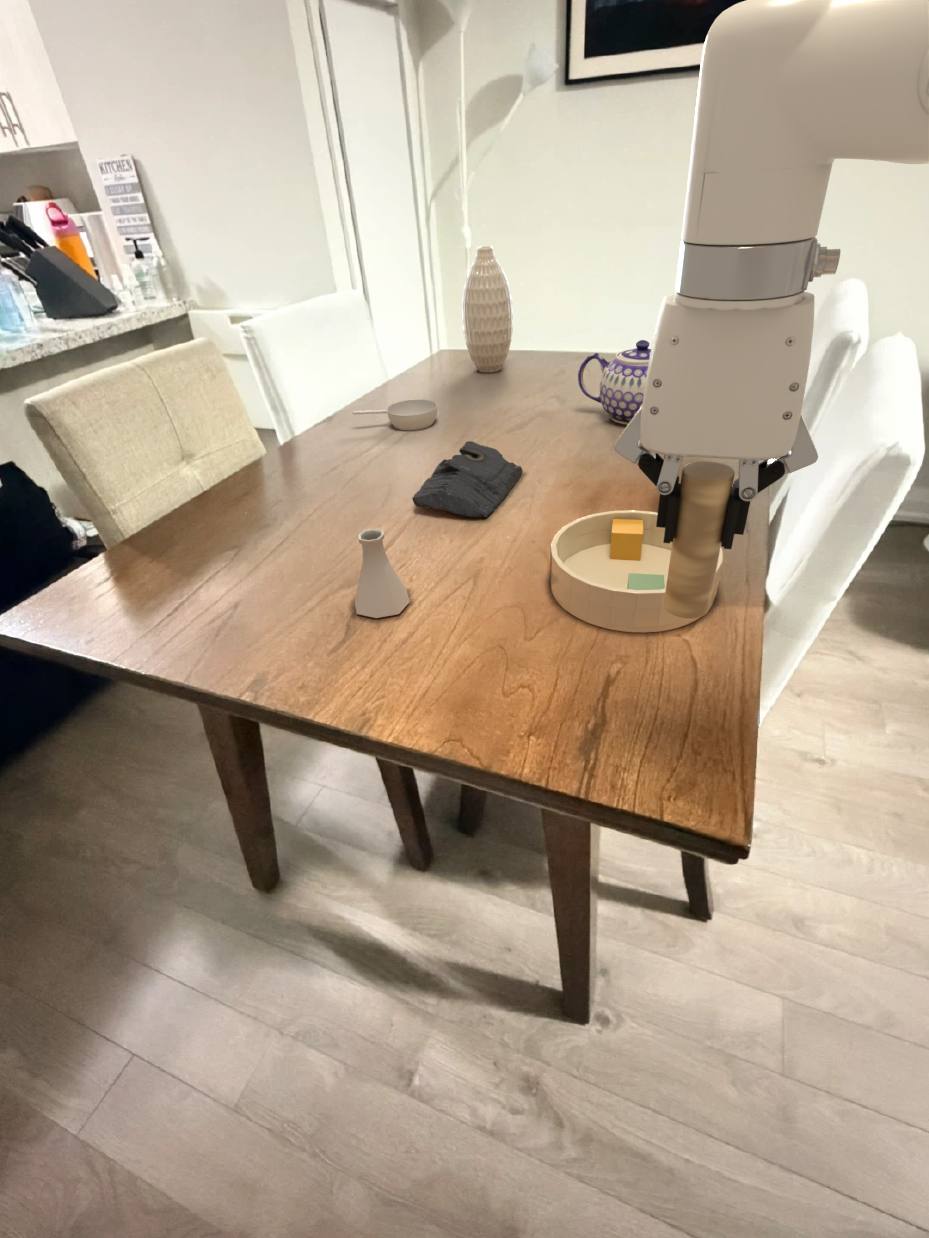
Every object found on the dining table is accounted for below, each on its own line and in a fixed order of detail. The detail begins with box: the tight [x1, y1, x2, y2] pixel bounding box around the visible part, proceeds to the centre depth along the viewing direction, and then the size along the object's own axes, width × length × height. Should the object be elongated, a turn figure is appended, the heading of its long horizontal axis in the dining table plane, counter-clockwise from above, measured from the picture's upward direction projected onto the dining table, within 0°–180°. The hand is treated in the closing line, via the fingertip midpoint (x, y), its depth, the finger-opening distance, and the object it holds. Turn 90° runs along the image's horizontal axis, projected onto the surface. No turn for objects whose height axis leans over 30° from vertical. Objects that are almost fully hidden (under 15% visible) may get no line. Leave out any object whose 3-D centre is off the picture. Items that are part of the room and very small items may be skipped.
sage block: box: [627, 573, 665, 590], centre depth 75 cm, size 4×4×4 cm
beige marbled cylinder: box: [664, 460, 736, 618], centre depth 50 cm, size 4×4×12 cm
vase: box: [461, 245, 514, 374], centre depth 161 cm, size 13×13×28 cm
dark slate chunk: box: [412, 440, 524, 518], centre depth 108 cm, size 15×22×5 cm
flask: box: [354, 528, 411, 619], centre depth 80 cm, size 7×7×10 cm
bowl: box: [549, 509, 724, 634], centre depth 81 cm, size 20×20×6 cm
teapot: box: [577, 339, 651, 426], centre depth 128 cm, size 25×15×15 cm, turn 61°
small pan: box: [351, 398, 438, 431], centre depth 137 cm, size 11×18×4 cm, turn 97°
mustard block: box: [610, 519, 643, 561], centre depth 86 cm, size 4×4×4 cm
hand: (697, 535), depth 50 cm, fingers closed on beige marbled cylinder, 3 cm apart
